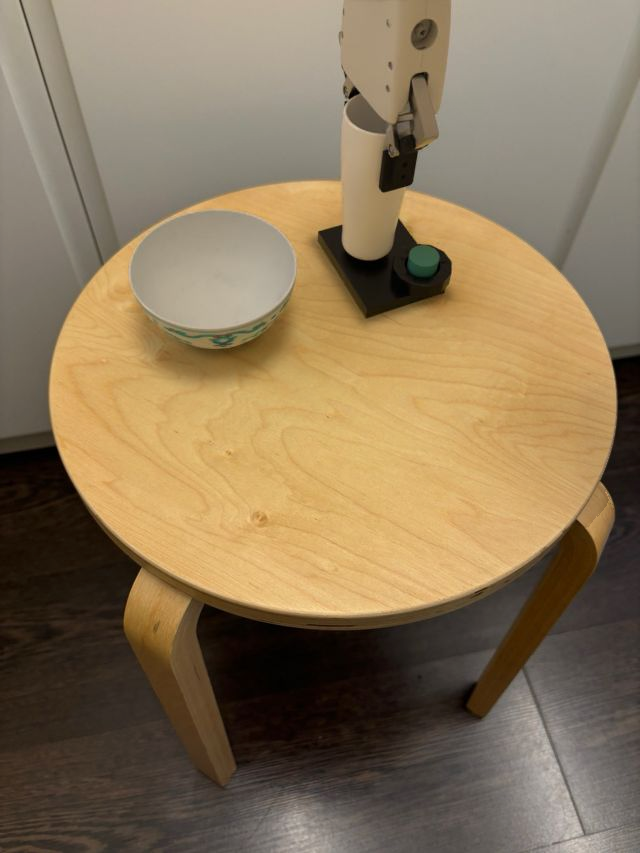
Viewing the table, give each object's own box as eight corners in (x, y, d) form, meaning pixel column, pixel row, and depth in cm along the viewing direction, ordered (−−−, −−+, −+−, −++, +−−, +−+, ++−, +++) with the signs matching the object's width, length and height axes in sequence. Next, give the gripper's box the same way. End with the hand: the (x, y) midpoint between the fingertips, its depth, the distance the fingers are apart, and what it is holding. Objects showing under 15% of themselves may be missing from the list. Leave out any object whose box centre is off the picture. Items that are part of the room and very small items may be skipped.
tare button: (427, 253, 72) (430, 241, 71) (442, 272, 70) (445, 261, 69) (401, 261, 71) (403, 249, 70) (415, 281, 70) (418, 269, 68)
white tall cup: (327, 261, 71) (334, 128, 59) (342, 217, 75) (351, 83, 62) (393, 274, 71) (414, 142, 58) (404, 229, 74) (426, 96, 62)
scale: (399, 217, 79) (402, 195, 76) (457, 297, 72) (462, 275, 70) (317, 241, 76) (318, 219, 74) (370, 325, 70) (372, 304, 67)
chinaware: (122, 297, 71) (105, 238, 64) (257, 250, 75) (253, 191, 68) (178, 406, 64) (165, 353, 57) (323, 348, 68) (326, 292, 61)
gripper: (511, -7, 46) (459, 210, 61) (391, -112, 55) (371, 102, 70) (411, 14, 44) (382, 233, 59) (303, -98, 53) (301, 118, 68)
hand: (376, 160), depth 64 cm, fingers closed on white tall cup, 6 cm apart
